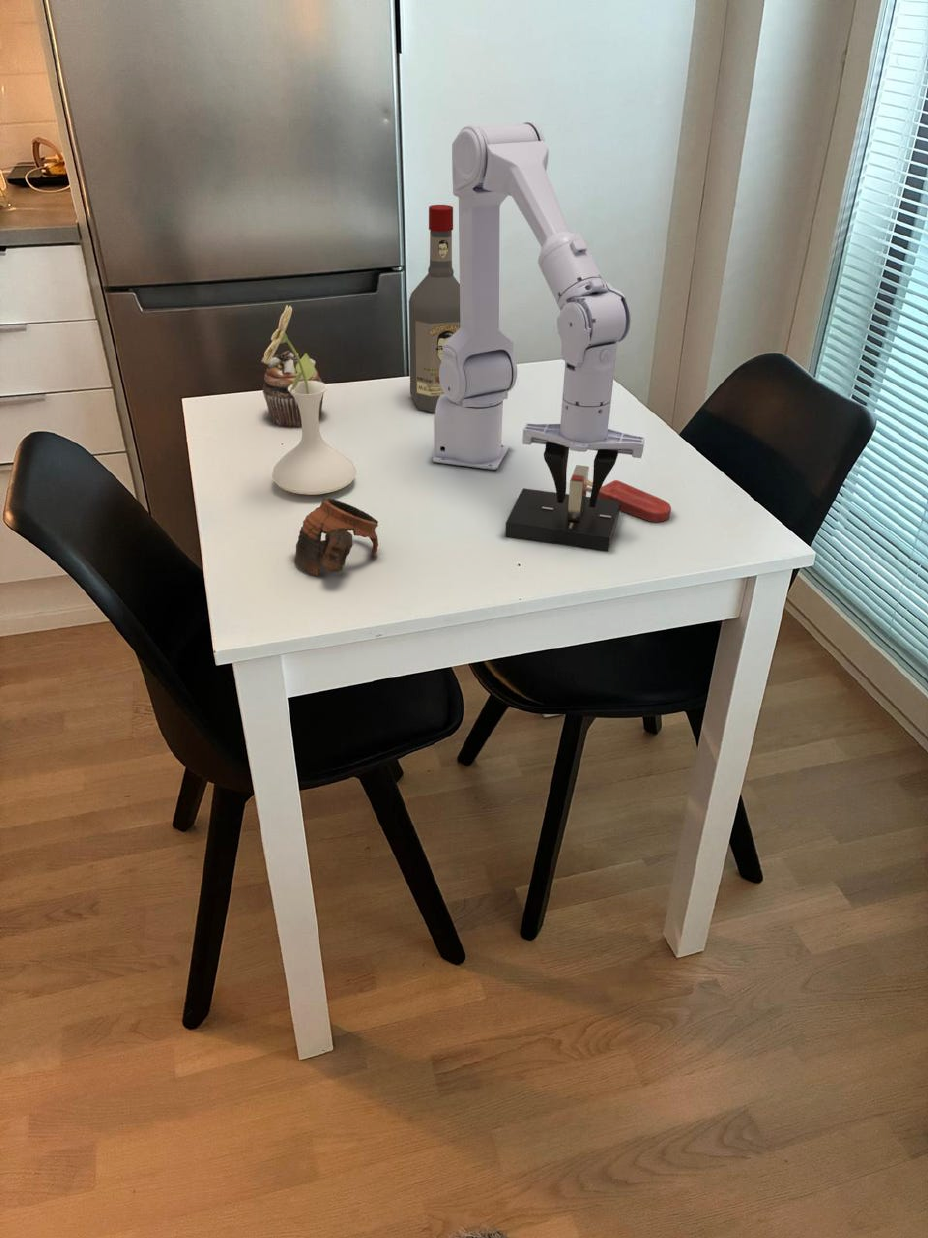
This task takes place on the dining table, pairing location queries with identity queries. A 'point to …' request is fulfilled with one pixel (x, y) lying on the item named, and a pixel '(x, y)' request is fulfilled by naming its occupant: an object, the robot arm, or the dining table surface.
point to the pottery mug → (332, 535)
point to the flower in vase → (308, 433)
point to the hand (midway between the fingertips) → (577, 501)
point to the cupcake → (284, 389)
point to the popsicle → (635, 501)
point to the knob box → (562, 521)
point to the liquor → (433, 312)
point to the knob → (577, 493)
